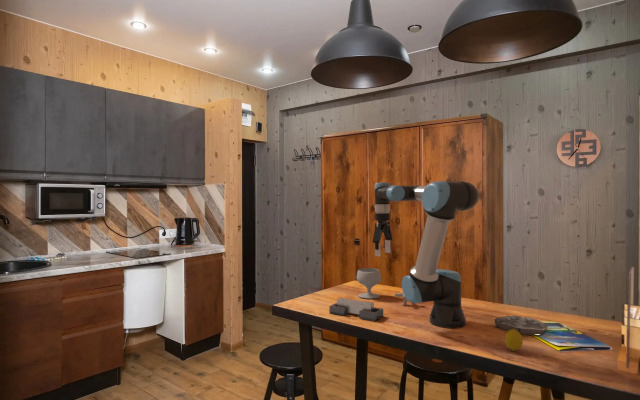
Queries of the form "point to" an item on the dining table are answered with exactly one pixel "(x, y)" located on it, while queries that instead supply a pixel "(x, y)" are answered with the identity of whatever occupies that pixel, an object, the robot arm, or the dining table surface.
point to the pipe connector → (402, 296)
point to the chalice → (369, 281)
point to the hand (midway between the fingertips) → (382, 254)
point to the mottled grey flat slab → (521, 324)
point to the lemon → (513, 340)
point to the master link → (355, 305)
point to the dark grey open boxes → (362, 314)
